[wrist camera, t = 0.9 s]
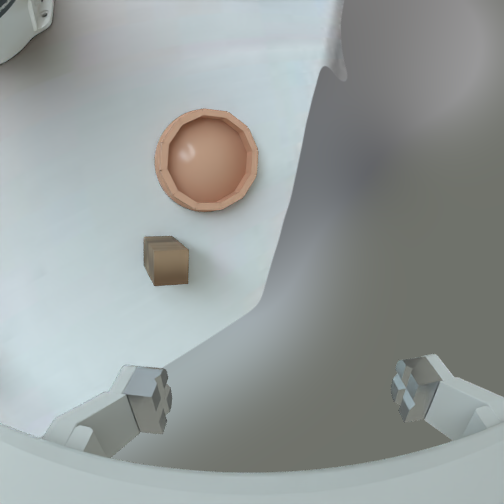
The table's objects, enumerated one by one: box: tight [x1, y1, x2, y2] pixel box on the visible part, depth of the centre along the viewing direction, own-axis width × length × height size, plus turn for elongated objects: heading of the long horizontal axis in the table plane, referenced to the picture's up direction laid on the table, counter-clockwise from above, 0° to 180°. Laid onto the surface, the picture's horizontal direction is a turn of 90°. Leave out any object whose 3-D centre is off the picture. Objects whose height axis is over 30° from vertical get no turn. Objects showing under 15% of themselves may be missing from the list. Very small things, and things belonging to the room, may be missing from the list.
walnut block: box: [144, 236, 189, 286], centre depth 43 cm, size 4×4×10 cm
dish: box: [155, 109, 258, 212], centre depth 46 cm, size 16×16×3 cm
